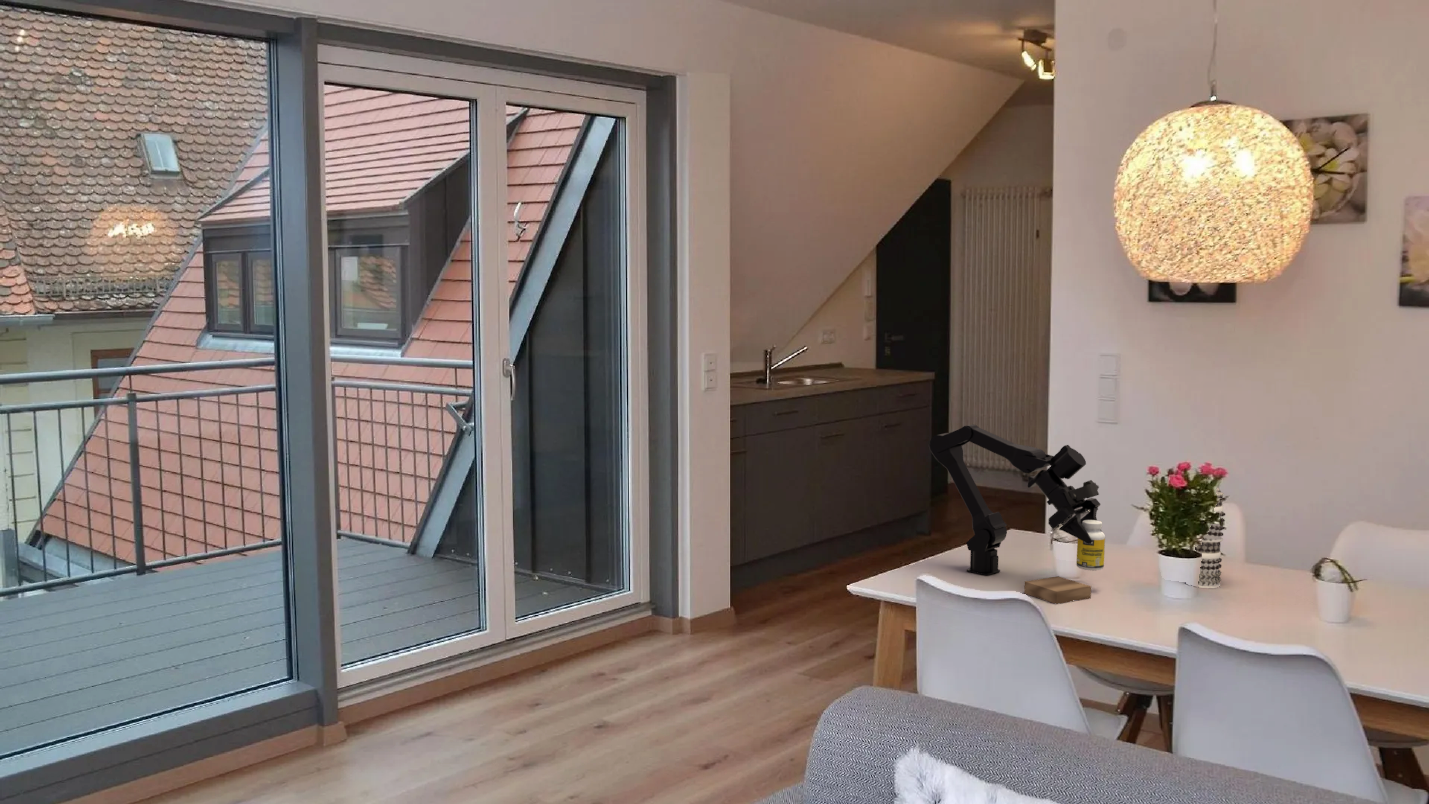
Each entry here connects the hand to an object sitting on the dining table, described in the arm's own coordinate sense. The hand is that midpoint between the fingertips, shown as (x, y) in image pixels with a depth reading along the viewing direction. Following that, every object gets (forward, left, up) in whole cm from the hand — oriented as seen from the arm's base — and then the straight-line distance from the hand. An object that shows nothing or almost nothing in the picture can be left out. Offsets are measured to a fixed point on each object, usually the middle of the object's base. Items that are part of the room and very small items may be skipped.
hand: (1096, 540), depth 295 cm
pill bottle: (-1, 0, -7) cm, 7 cm away
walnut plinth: (-4, -10, -13) cm, 17 cm away
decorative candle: (+15, +27, -13) cm, 33 cm away
